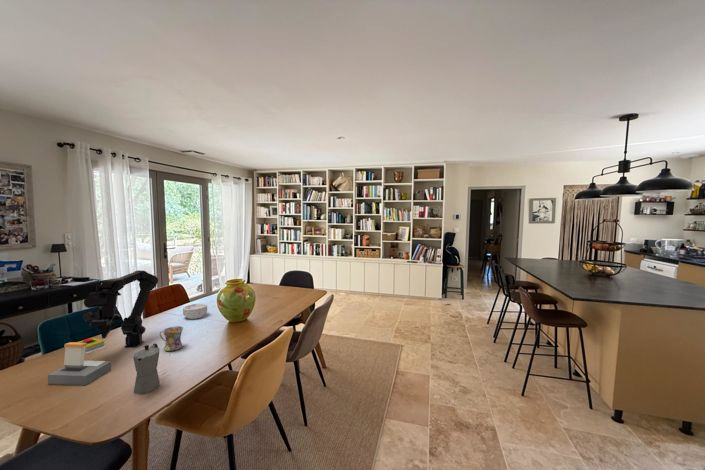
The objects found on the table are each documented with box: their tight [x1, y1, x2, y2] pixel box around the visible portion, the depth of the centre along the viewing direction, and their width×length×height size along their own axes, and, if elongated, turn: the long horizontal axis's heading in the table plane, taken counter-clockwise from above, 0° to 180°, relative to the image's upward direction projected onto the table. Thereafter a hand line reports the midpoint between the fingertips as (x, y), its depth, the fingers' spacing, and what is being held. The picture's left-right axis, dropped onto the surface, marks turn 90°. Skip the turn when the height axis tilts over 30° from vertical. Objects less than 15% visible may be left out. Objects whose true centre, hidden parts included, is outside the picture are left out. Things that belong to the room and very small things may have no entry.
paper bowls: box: [182, 303, 208, 320], centre depth 200 cm, size 15×15×8 cm
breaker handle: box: [63, 341, 87, 368], centre depth 122 cm, size 2×7×10 cm, turn 89°
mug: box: [159, 325, 184, 352], centre depth 151 cm, size 12×9×11 cm
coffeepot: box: [132, 343, 161, 395], centre depth 117 cm, size 15×9×18 cm, turn 13°
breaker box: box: [47, 359, 112, 386], centre depth 123 cm, size 12×16×4 cm
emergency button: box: [76, 337, 108, 354], centre depth 150 cm, size 9×4×15 cm
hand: (103, 338), depth 136 cm, fingers closed
